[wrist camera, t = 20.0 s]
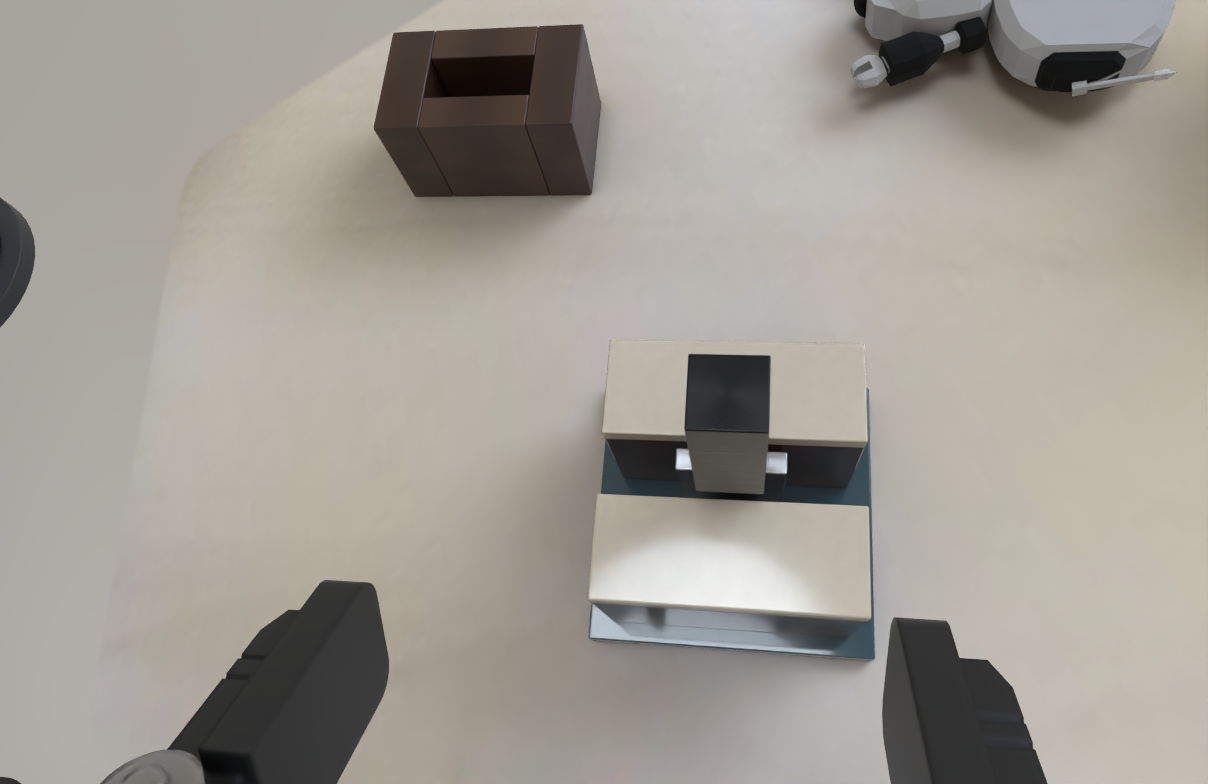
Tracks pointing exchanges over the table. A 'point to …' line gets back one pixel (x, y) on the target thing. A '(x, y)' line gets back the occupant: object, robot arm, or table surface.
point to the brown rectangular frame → (491, 111)
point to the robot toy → (1019, 39)
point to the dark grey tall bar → (729, 431)
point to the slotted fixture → (736, 512)
